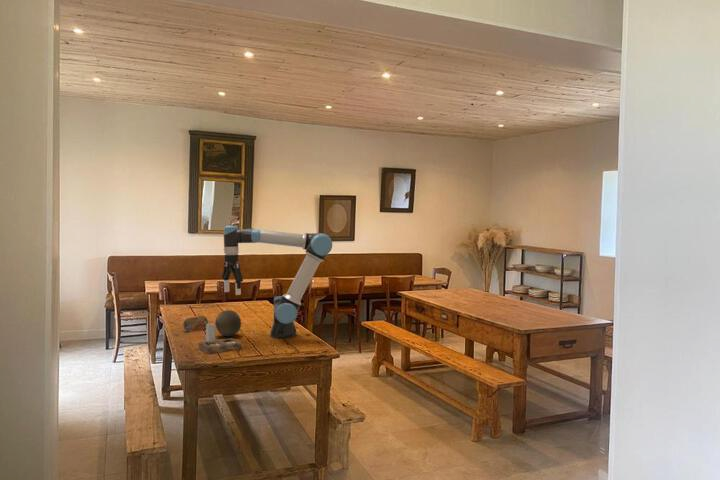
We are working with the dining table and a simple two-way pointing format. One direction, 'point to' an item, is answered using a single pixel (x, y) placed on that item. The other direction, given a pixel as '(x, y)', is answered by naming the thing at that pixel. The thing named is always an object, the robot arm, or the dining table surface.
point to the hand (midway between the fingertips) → (232, 293)
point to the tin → (195, 323)
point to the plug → (210, 333)
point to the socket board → (220, 346)
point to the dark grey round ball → (228, 323)
